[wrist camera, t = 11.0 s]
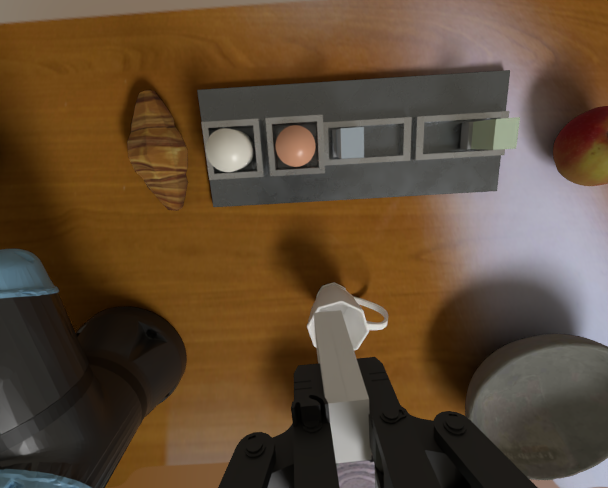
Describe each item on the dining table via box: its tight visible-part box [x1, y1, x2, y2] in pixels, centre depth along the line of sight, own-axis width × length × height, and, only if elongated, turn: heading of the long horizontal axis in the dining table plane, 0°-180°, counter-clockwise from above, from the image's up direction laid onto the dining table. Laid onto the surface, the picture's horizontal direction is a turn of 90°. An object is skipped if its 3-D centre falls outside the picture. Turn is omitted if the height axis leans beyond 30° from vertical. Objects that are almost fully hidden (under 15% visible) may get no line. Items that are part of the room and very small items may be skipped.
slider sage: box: [460, 117, 520, 150], centre depth 35 cm, size 3×3×6 cm
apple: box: [553, 106, 608, 186], centre depth 35 cm, size 8×8×8 cm
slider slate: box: [331, 127, 364, 159], centre depth 35 cm, size 3×3×6 cm
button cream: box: [206, 128, 255, 172], centre depth 34 cm, size 4×4×4 cm
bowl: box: [465, 334, 608, 480], centre depth 45 cm, size 21×21×8 cm
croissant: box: [127, 90, 188, 211], centre depth 37 cm, size 14×7×5 cm, turn 7°
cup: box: [307, 282, 388, 350], centre depth 41 cm, size 7×10×8 cm
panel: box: [197, 70, 510, 207], centre depth 37 cm, size 34×13×5 cm, turn 93°
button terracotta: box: [276, 125, 315, 167], centre depth 36 cm, size 4×4×4 cm
